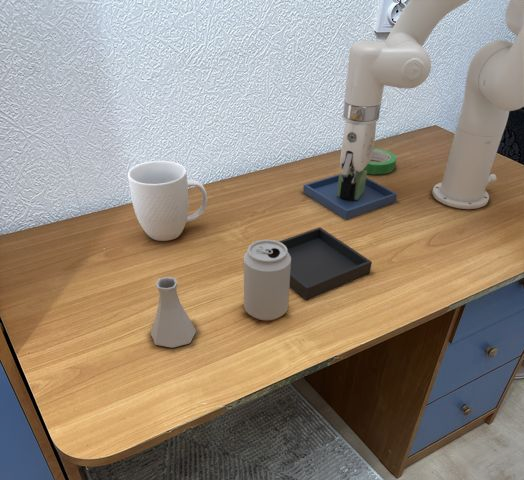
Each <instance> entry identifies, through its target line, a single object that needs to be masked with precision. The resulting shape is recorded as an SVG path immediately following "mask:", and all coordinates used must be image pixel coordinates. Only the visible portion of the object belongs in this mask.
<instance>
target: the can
mask: <svg viewBox="0 0 524 480" xmlns="http://www.w3.org/2000/svg"><path fill="white" fill-rule="evenodd" d="M290 269H291V256H290V254H289V253H288V249H287V247H286V246H285V245H284V244H282V243H281V242H279V241H278V240H273V239H259V240H256V241H254V242H252V243H251V244H249V246H248V247H247V251H246V252H245V253H244V255H243V308H244V309H245V312H246V313H247V314H248V316H251V317H252V318H254V319H256V320H260V321H274V320H277V319H279V318H280V317H282V316H283V315H285V314H286V313H287V311H288V310H289V299H290V297H289V296H290V286H289V284H290Z"/></svg>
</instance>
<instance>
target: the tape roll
mask: <svg viewBox="0 0 524 480" xmlns="http://www.w3.org/2000/svg"><path fill="white" fill-rule="evenodd" d="M396 162H397V156H396V155H395V153H393V152H391V151H388V150H387V149H386V150H385V149H382V148H375V147H374V150H373V156H372V159H371V160H370V162H369V163H368V164H367V166H366V167H365V169H364V170H366V171H367V175H387V174H389V173H392V172H393V171H395V168H396Z"/></svg>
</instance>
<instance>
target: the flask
mask: <svg viewBox="0 0 524 480" xmlns="http://www.w3.org/2000/svg"><path fill="white" fill-rule="evenodd" d="M178 284H179V283H178V280H177V278H176V277H172V276H165V277H160V278H158V279H157V281H156V282H155V286H156V288H157V290H158V305H157V309H156V313H155V317H154V321H153V324H152V327H151V330H150V331H151V332H150V335H151V338H152V341H153V343H154V345H155V346H160V347H166V348H171V349H174V348H177V347H181V346H185V345H188V344H191V342H192V341H193V339H194V337H195V335H196V333H197V331H196V329H195V326H194V325H193V322H192V320H191V319H190V317H189V315H188V313H187V312H186V310H185V308H184V306H183V304H182V303H181V301H180V298H179V295H178V290H177V287H178V286H179V285H178Z"/></svg>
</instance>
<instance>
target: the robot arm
mask: <svg viewBox="0 0 524 480" xmlns="http://www.w3.org/2000/svg"><path fill="white" fill-rule="evenodd" d="M469 1H470V0H409V1H408V2H407V4H406V5H405V6H404V8H403V10H402V11H401V13H400V15H399V16H398V18H397V20H396V21H395V24H394V25H393V26H392V29H391V31H390V32H389V34H388V35H387V38H386V39H385V41H384V42H382V41H380V40H373V39H365V40H358V41H356V42H354V43H353V44H352V45H351V47H350V48H349V53H348V62H347V63H348V64H347V70H346V71H347V73H346V80H345V81H346V82H345V89H344V90H345V91H344V101H343V109H342V119H343V120H344V121H345V124H344V130H343V135H342V142H341V149H340V157H339V167H340V169H341V170H342V171H341V172H342V174H341V176H342V181H341V191H340V198H342V199H347V200H353V199H354V195H355V187H356V183H355V178H356V173H357V171H358V172H361V171H362V170H364V169H365V167H366V166H367V164H368V163H369V162H370V161H372V160H371V159H372V156H373V150H374V148H375V140H376V130H377V122H378V121H379V120H380V113H381V107H382V102H383V94H384V88H385V86H386V87H392V88H398V89H407V90H408V89H414V88H417V87H419V86H421V85H422V84H423V83H424V82H426V81H427V79H428V78H429V76H430V74H431V70H432V60H431V56H430V54H429V52H428V51H427V50H426V49H425V48H424V45H425V43H426V42H427V40H428V38H429V36H430V35H431V34H432V32H433V30H434V29H436V27H437V25H438V24H439V23H440V22H441V21H442V20H443V19H444V18H445V17H446V16H447V15H448V14H449V13H451V12H452V11H454V10H456V9H457V8H460V7H461V6H463V5H464V4H466V3H467V2H469ZM504 22H505V25H506V27H507V29H508V30H509V31H510V32H511V33H512V34H513V35H515V36H516V37H515V39H514V41H513V42H510V41H508V40H494V41H489V42H488V43H486V44H484V45H483V46H482V47H480V48H479V49H478V51H476V53H475V54H474V56H473V57H472V59H471V60H470V63H469V65H468V68H467V72H466V78H465V84H464V85H465V86H464V93H463V99H462V105H461V109H460V112H459V113H460V114H459V117H458V120H457V125H456V127H455V132H454V135H453V139H452V143H451V145H450V150H449V154H448V158H447V162H446V165H445V169H444V173H443V176H442V179H441V180H442V181H441V182H438V183H437V184H435V185H434V186H433V188H432V196H433V198H434V199H435V200H436V201H438V202H439V203H441V204H443V205H445V206H448V207H451V208H455V209H462V210H474V209H480V208H483V207H485V206H486V205H487V204H488V203H489V200H490V194H489V193H488V192H487V190H486V189H487V186H488V185H490V184H493V183H495V182H496V181H497V179H498V178H497V176H496V174H494V173H491V170H492V167H493V165H494V162H495V159H496V155H497V152H498V150H499V147H500V144H501V141H502V138H503V134H504V132H505V129H506V127H507V123H508V119H509V115H510V112H513V111H517V110H520V109H522V108H524V0H509V2H508V4H507V7H506V9H505V13H504ZM350 167H351V168H350ZM353 168H354V169H353ZM349 171H350V172H353V175H352V176H351V174H350V173H349Z"/></svg>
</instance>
